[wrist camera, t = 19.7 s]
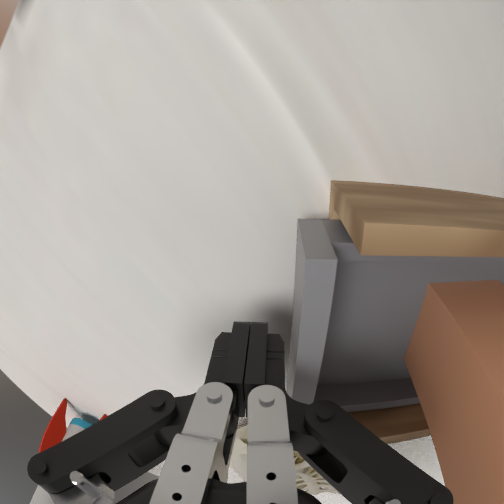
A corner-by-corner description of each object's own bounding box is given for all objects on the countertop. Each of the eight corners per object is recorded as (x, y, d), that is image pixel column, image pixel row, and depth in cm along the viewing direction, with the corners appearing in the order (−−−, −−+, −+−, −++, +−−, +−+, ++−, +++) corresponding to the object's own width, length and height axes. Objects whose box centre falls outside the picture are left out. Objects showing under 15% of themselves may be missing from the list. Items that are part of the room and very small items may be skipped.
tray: (297, 218, 12) (305, 259, 9) (519, 230, 11) (559, 260, 8) (286, 382, 17) (286, 433, 13) (465, 365, 16) (485, 403, 13)
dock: (331, 180, 13) (381, 245, 7) (538, 204, 12) (610, 253, 6) (308, 380, 18) (314, 473, 12) (479, 361, 17) (513, 426, 11)
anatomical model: (266, 547, 24) (154, 511, 13) (268, 494, 32) (178, 414, 22) (381, 533, 21) (389, 499, 10) (374, 477, 29) (365, 383, 19)
